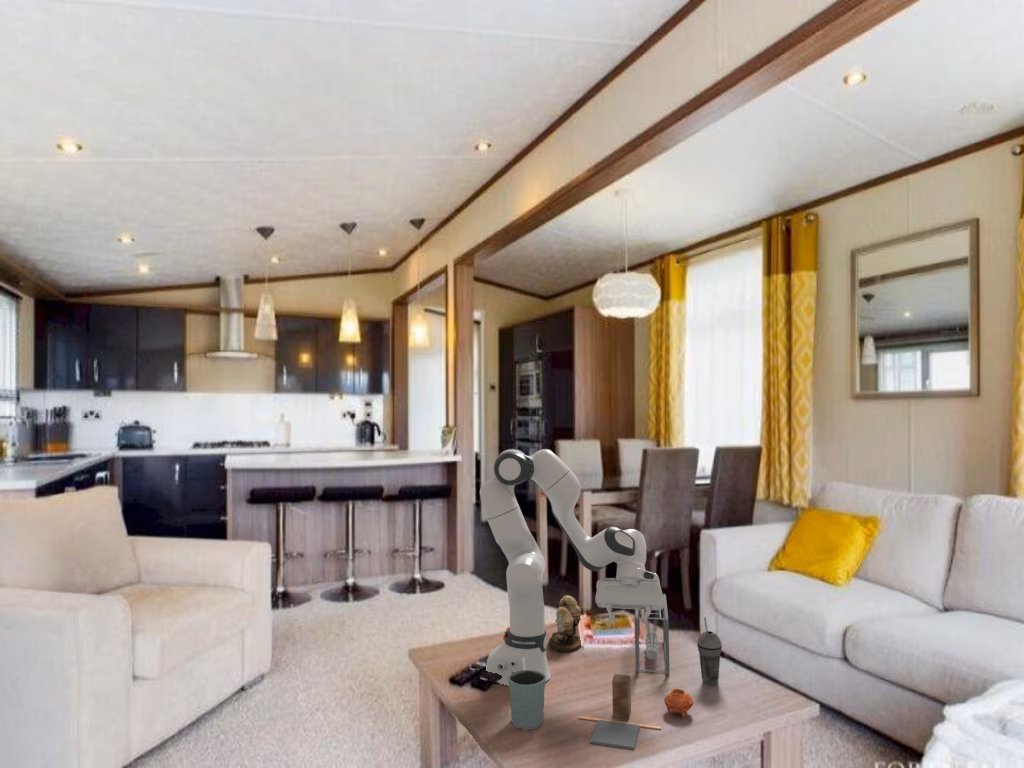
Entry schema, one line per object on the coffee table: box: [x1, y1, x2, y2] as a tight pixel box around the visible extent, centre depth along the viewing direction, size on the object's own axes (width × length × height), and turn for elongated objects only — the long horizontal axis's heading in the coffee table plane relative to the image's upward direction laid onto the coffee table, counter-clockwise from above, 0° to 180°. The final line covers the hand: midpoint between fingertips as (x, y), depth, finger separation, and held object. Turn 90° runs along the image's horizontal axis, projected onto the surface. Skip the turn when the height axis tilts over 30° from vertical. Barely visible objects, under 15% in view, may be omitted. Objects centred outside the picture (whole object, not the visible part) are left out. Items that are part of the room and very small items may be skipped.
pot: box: [663, 688, 695, 719], centre depth 182 cm, size 8×8×7 cm
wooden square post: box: [611, 673, 632, 720], centre depth 182 cm, size 4×4×10 cm
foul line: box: [578, 715, 662, 731], centre depth 177 cm, size 22×1×1 cm, turn 72°
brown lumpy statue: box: [548, 595, 582, 653], centre depth 236 cm, size 18×12×17 cm, turn 174°
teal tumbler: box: [508, 670, 546, 730], centre depth 179 cm, size 10×10×12 cm
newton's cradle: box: [634, 593, 670, 675], centre depth 222 cm, size 30×10×18 cm, turn 169°
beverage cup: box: [697, 616, 723, 688], centre depth 201 cm, size 7×7×20 cm
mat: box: [590, 720, 641, 750], centre depth 171 cm, size 11×12×1 cm
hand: (627, 621), depth 194 cm, fingers open, 8 cm apart
